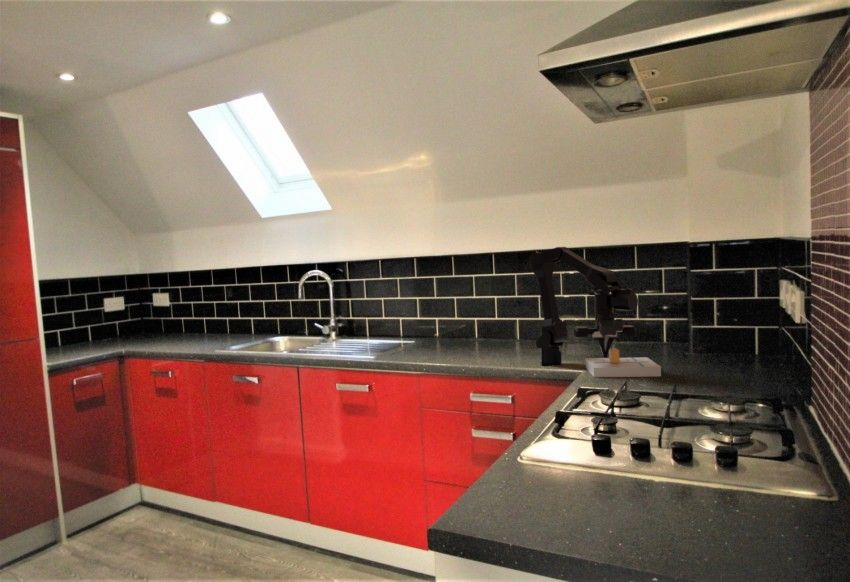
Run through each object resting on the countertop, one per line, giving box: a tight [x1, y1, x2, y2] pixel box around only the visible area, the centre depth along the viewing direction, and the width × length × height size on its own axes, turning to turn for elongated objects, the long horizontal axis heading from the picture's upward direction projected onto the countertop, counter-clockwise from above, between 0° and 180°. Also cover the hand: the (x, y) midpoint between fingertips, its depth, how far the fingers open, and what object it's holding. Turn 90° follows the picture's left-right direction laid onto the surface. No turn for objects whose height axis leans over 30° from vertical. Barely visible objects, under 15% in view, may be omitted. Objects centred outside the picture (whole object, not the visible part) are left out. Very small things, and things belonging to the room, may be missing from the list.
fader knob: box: [608, 348, 620, 363], centre depth 189 cm, size 2×4×6 cm, turn 174°
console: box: [584, 356, 662, 378], centre depth 189 cm, size 20×16×3 cm
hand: (605, 357), depth 189 cm, fingers closed
